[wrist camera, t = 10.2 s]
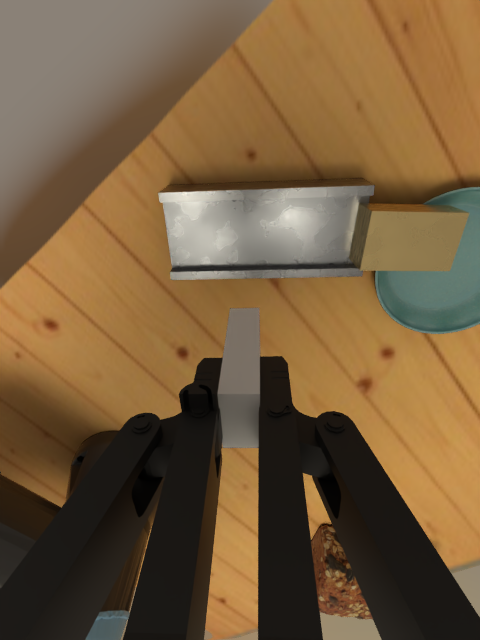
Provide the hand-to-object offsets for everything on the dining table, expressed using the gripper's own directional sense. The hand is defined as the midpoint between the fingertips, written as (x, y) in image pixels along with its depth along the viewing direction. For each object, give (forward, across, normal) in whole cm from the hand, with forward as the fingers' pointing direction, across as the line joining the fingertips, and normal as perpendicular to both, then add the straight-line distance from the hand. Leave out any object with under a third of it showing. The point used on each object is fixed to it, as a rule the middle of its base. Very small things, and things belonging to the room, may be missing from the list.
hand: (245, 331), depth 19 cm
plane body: (+19, +1, +1) cm, 19 cm away
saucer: (+20, +19, -4) cm, 28 cm away
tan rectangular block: (+17, +13, 0) cm, 21 cm away
